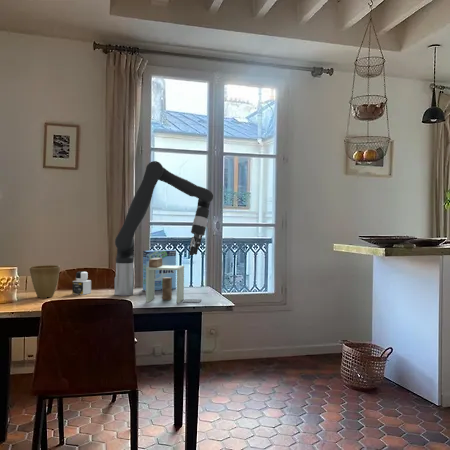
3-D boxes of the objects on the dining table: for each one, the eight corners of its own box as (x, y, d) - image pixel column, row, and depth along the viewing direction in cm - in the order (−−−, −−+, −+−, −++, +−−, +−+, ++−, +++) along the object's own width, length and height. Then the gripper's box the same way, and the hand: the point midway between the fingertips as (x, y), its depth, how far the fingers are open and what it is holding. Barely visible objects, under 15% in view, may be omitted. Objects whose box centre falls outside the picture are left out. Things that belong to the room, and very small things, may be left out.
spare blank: (149, 267, 226) (149, 259, 226) (154, 265, 237) (154, 257, 237) (157, 267, 225) (157, 259, 225) (162, 265, 236) (162, 257, 236)
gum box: (172, 287, 276) (172, 249, 276) (176, 288, 272) (176, 250, 272) (142, 290, 265) (142, 250, 265) (146, 291, 261) (146, 251, 261)
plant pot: (43, 294, 248) (43, 264, 247) (66, 295, 243) (66, 265, 242) (22, 298, 233) (22, 267, 233) (46, 300, 228) (46, 268, 228)
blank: (162, 299, 233) (162, 278, 233) (164, 298, 237) (164, 277, 237) (170, 299, 233) (170, 278, 232) (171, 298, 237) (171, 277, 236)
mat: (182, 302, 225) (182, 301, 225) (185, 299, 233) (185, 298, 233) (199, 303, 224) (199, 302, 224) (201, 300, 232) (201, 299, 232)
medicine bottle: (72, 294, 249) (72, 272, 249) (80, 292, 255) (81, 270, 255) (82, 295, 246) (82, 272, 246) (91, 293, 253) (91, 271, 252)
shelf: (145, 302, 225) (145, 267, 225) (152, 297, 238) (152, 265, 238) (178, 303, 223) (179, 268, 223) (183, 298, 236) (184, 265, 236)
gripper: (189, 225, 255) (183, 253, 252) (196, 222, 242) (189, 252, 239) (202, 229, 257) (196, 257, 254) (209, 226, 244) (202, 255, 241)
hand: (192, 254), depth 246 cm, fingers open, 8 cm apart
